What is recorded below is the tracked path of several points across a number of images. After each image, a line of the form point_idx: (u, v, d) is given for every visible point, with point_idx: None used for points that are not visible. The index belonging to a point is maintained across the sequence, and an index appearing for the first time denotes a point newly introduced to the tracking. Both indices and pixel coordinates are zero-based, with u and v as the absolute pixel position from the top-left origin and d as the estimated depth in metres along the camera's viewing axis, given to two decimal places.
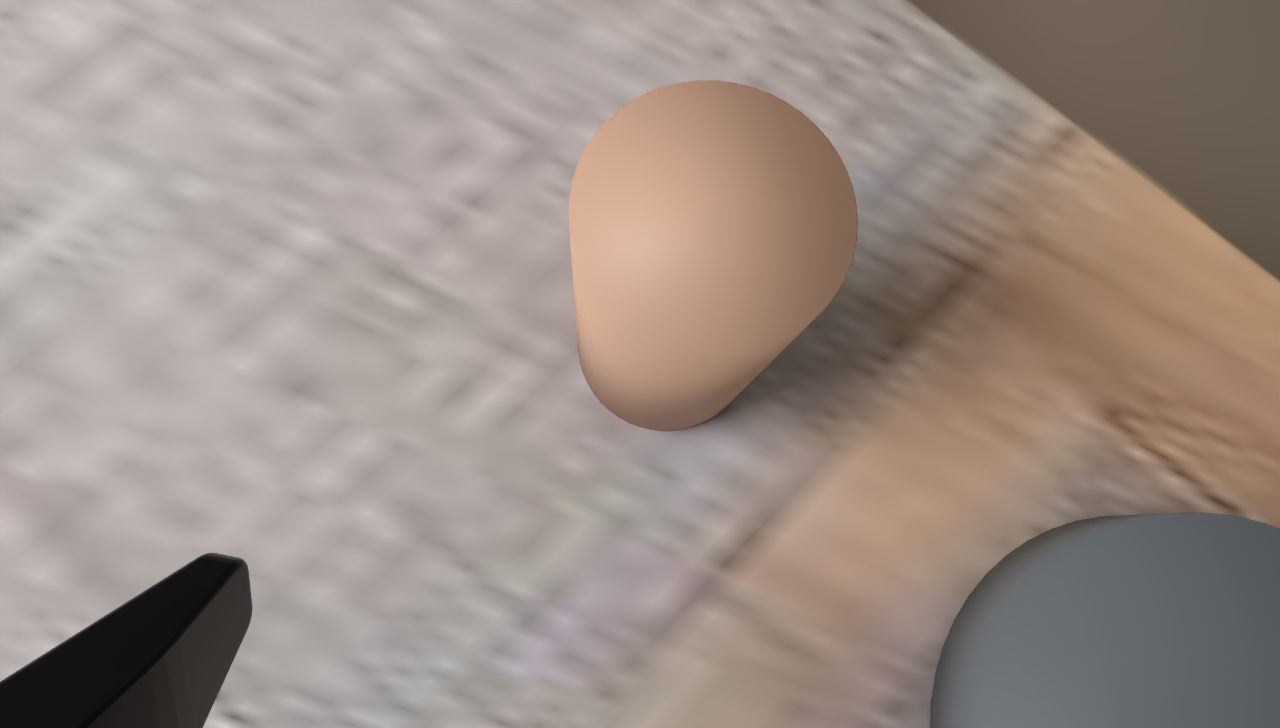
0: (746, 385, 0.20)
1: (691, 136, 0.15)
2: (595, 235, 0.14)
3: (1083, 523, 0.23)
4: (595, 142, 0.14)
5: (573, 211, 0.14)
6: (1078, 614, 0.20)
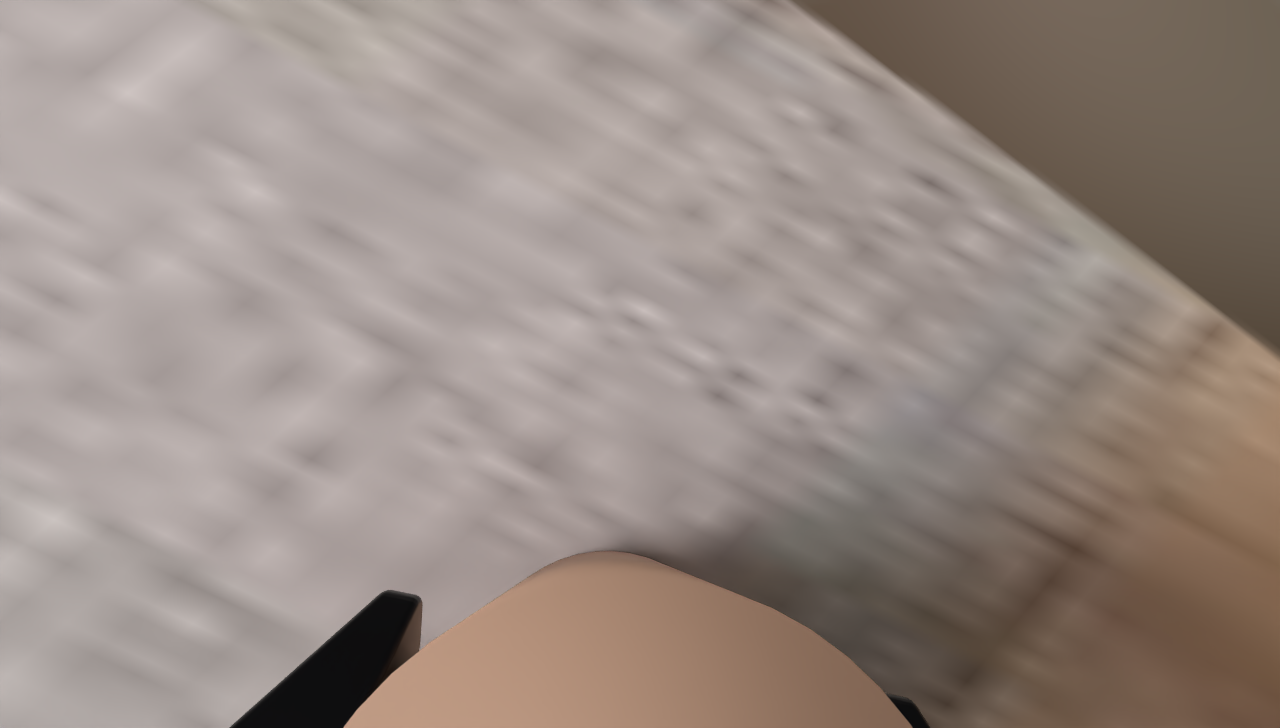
0: None
1: None
2: None
3: None
4: None
5: None
6: None
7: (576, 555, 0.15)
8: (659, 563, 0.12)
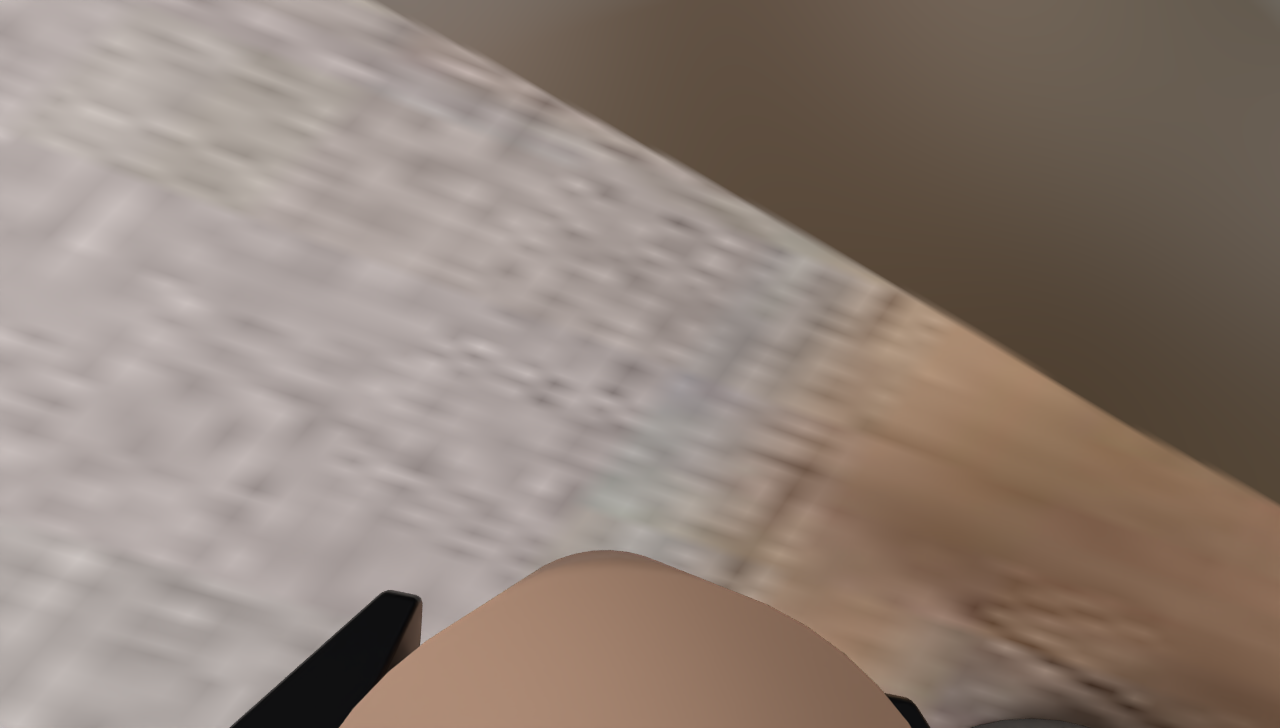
0: None
1: None
2: None
3: None
4: None
5: None
6: None
7: (575, 554, 0.15)
8: (657, 562, 0.12)
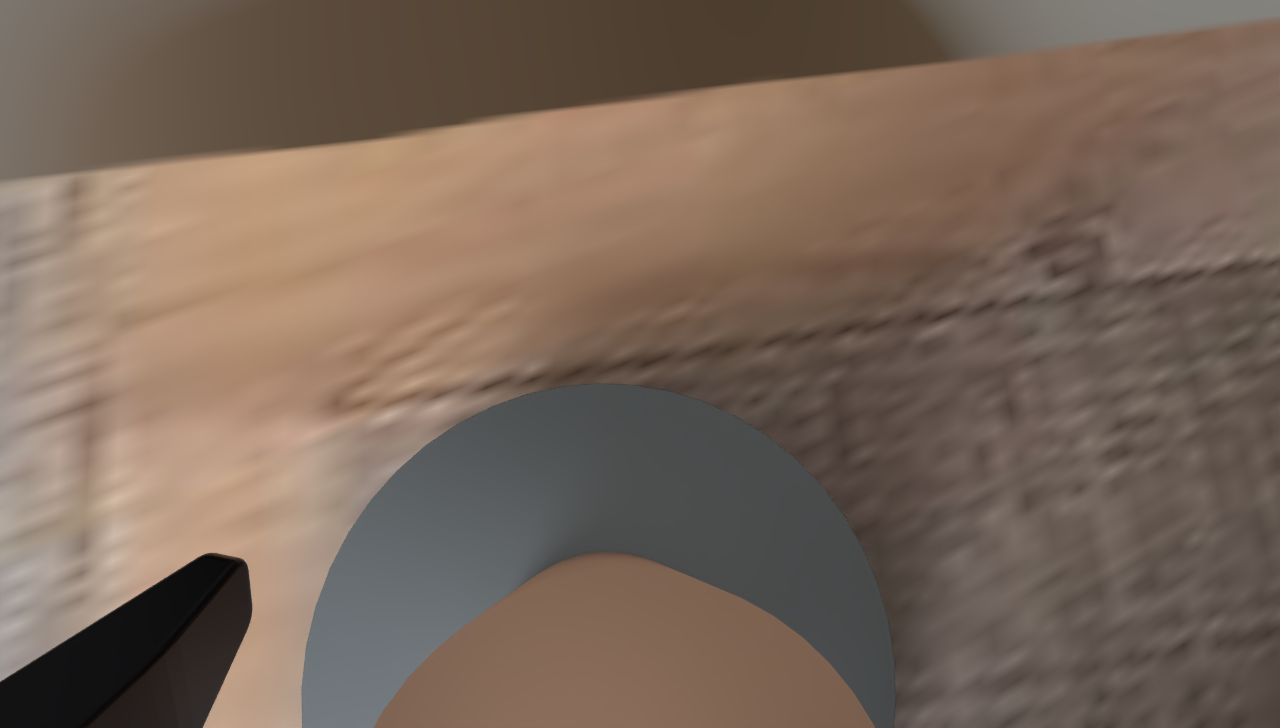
0: None
1: (585, 700, 0.07)
2: None
3: None
4: (387, 725, 0.07)
5: None
6: (360, 686, 0.17)
7: (579, 555, 0.16)
8: (654, 562, 0.13)
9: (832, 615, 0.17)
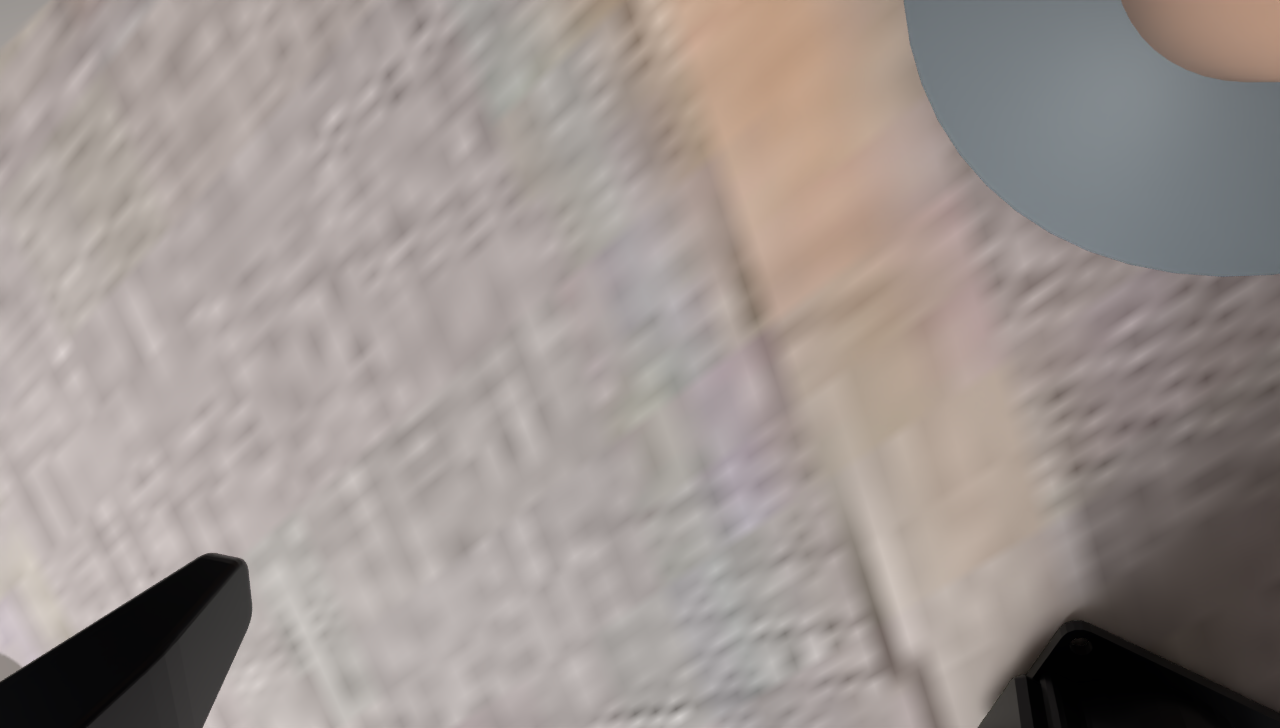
0: None
1: None
2: None
3: None
4: None
5: None
6: (972, 23, 0.16)
7: None
8: None
9: None
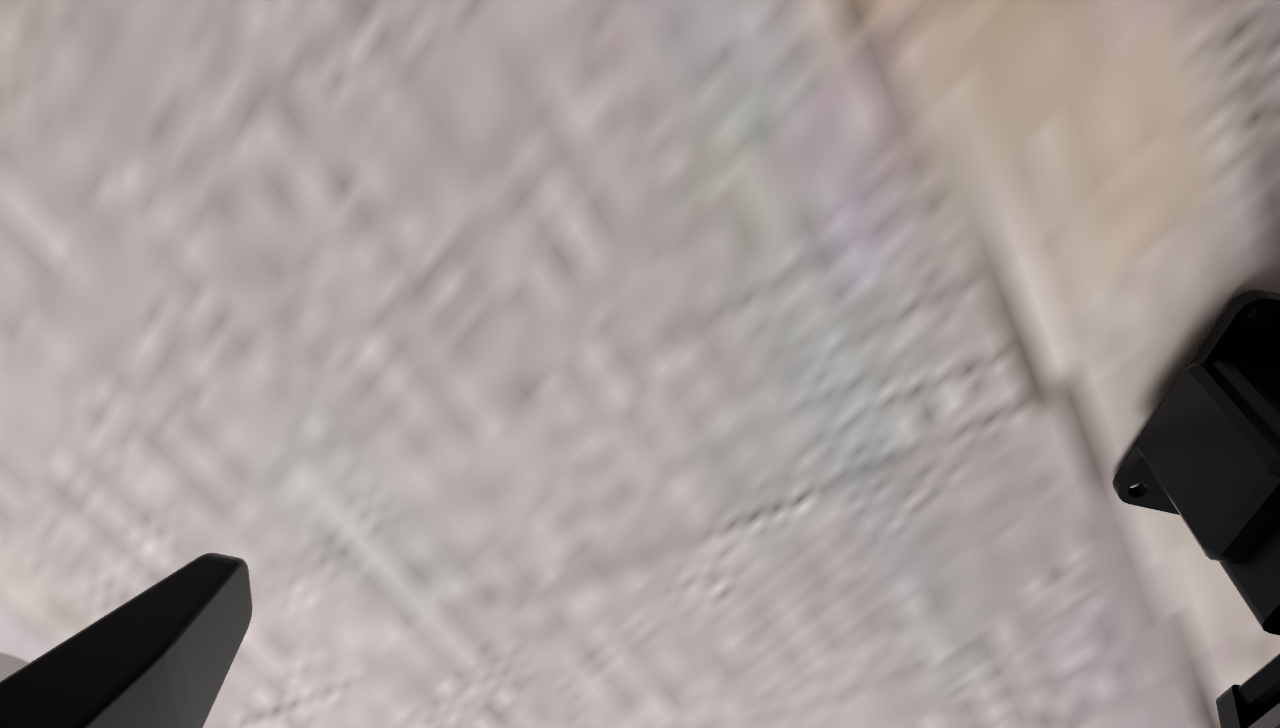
0: None
1: None
2: None
3: None
4: None
5: None
6: None
7: None
8: None
9: None
